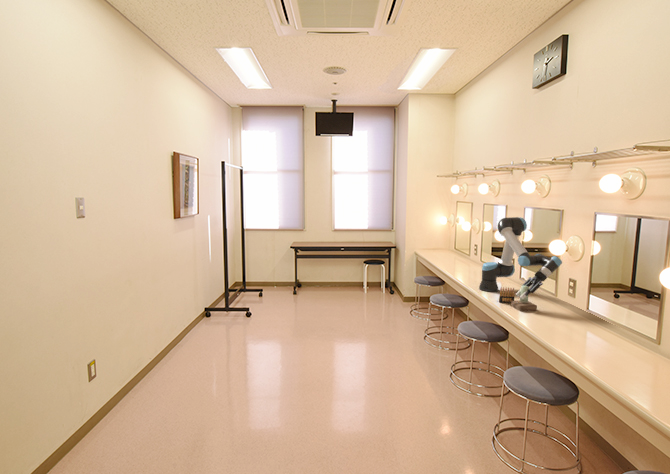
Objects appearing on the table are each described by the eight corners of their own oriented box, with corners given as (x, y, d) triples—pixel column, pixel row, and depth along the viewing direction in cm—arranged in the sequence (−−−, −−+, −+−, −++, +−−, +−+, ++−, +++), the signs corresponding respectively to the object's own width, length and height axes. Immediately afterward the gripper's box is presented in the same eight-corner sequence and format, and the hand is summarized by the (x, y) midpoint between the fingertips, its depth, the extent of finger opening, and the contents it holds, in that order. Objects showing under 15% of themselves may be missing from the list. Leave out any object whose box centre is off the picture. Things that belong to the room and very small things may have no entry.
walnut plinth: (510, 305, 265) (511, 300, 264) (526, 305, 266) (526, 300, 265) (520, 311, 253) (520, 305, 253) (536, 310, 254) (536, 305, 253)
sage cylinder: (518, 300, 261) (519, 285, 260) (525, 300, 261) (526, 285, 260) (522, 302, 256) (523, 287, 255) (529, 302, 256) (530, 287, 255)
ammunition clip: (513, 302, 273) (514, 287, 272) (514, 303, 271) (515, 287, 270) (498, 302, 275) (499, 286, 273) (499, 302, 273) (500, 287, 271)
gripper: (554, 280, 249) (530, 304, 250) (538, 274, 266) (515, 296, 267) (547, 273, 248) (523, 297, 249) (531, 267, 265) (509, 289, 266)
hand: (519, 296), depth 258 cm, fingers closed on sage cylinder, 5 cm apart
